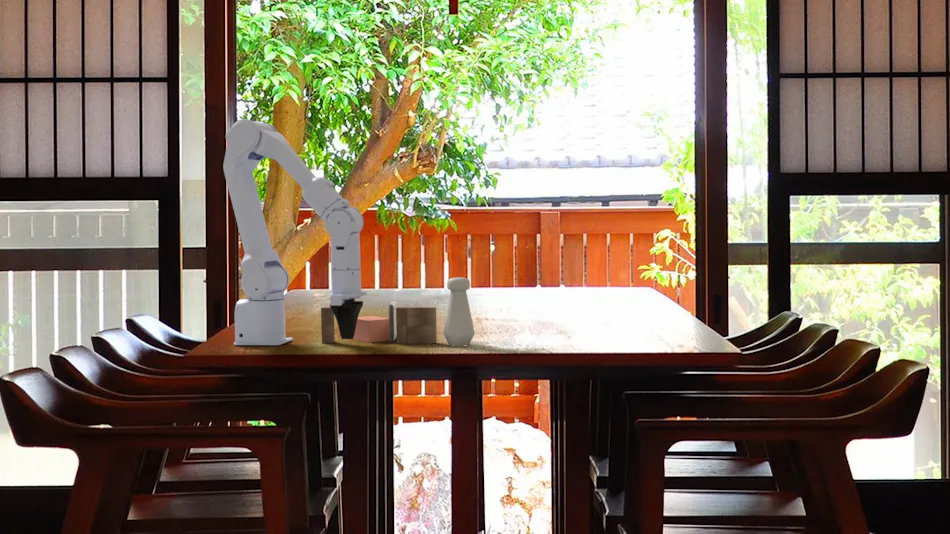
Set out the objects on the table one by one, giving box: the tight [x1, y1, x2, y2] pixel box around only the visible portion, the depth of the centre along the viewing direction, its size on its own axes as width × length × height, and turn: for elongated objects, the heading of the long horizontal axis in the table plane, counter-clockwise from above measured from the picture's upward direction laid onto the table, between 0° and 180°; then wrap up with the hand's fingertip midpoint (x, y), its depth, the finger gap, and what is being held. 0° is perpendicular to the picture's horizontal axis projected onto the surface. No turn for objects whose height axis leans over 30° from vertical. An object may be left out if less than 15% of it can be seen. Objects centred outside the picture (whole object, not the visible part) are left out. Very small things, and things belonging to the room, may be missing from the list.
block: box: [352, 315, 389, 344], centre depth 190 cm, size 7×5×4 cm
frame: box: [320, 304, 438, 345], centre depth 185 cm, size 23×2×8 cm, turn 81°
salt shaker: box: [443, 276, 475, 347], centre depth 180 cm, size 6×6×13 cm
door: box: [387, 301, 398, 341], centre depth 191 cm, size 11×1×7 cm, turn 1°
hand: (347, 338), depth 183 cm, fingers closed
